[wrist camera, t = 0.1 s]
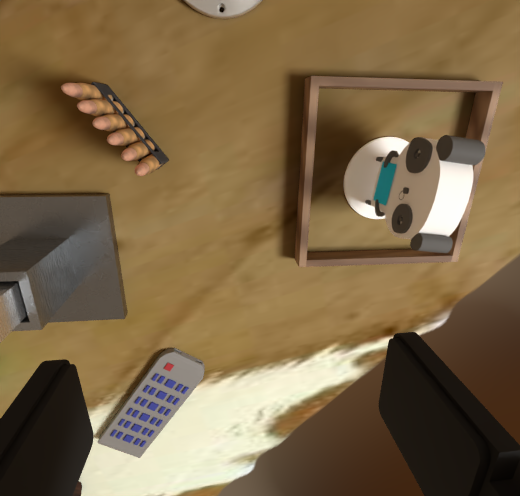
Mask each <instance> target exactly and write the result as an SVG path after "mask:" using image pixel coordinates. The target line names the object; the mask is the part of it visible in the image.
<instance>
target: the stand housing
mask: <svg viewBox="0 0 520 496" xmlns="http://www.w3.org/2000/svg"><path fill="white" fill-rule="evenodd" d="M1 281H18V282H19V285H20V289H21V292H22V296H23V300H24V303H25V307H26V310H27V314H28V315H27V316H26V317H25V318H24V319H23V320H22V321H21V322H20V323H19V324H18V325H17V326H16V327H15V328H14V329H13V330H12V331H24V330H42V329H43V328H44V326H45V325H46V324H47V323H48V322H67V321H88V320H108V319H125V317H126V315H127V307H126V300H125V294H124V287H123V281H122V274H121V267H120V261H119V254H118V248H117V241H116V234H115V228H114V221H113V215H112V208H111V201H110V195H109V194H13V195H0V282H1Z"/></svg>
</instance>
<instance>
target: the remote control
mask: <svg viewBox="0 0 520 496" xmlns="http://www.w3.org/2000/svg"><path fill="white" fill-rule="evenodd" d="M203 375H204V364H203V361H201V360H199V359H197V358H195V357H193V356H191V355H189V354H186V353H184V352H182V351H180V350H178V349H176V348H170V349H167V350H165V351H163V352H161V353H160V355H159V356H158V358H157V359H156V360H155V362H154V363H153V364H152V366H151V367H150V369H149V370H148V371H147V373H146V374H145V375H144V377H143V378H142V379H141V381H140V382H139V384H138V385H137V386H136V388H135V389H134V390H133V392H132V393H131V395H130V396H129V397H128V399H127V400H126V401H125V403H124V404H123V405H122V407H121V408H120V410H119V411H118V412H117V414H116V415H115V416H114V418H113V419H112V421H111V422H110V423H109V425H108V426H107V427H106V429H105V430H104V432H103V433H102V434H101V436H100V438H99V440H98V443H99V444H102V445H105V446H107V447H110V448H113V449H116V450H119V451H121V452H124V453H127V454H130V455H133V456H136V457H138V458H140V457H141V456H142V454H143V453H144V452H145V451H146V449H147V448H148V447H149V446H150V444H151V443H152V442H153V441H154V439H155V438H156V437H157V436H158V434H159V433H160V432H161V430H162V429H163V428H164V427H165V425H166V424H167V423H168V422H169V420H170V419H171V418H172V417H173V415H174V414H175V413H176V412H177V410H178V409H179V408H180V407H181V405H182V404H183V403H184V401H185V400H186V399H187V398H188V397H189V395H190V394H191V393H192V391H193V390H194V389H195V388H196V386H197V385H198V384H199V383H200V381H201V380H202V379H203Z"/></svg>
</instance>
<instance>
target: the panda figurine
mask: <svg viewBox="0 0 520 496" xmlns="http://www.w3.org/2000/svg"><path fill="white" fill-rule="evenodd" d="M484 156H485V145H484V143H483V142H481V141H480V140H474V139H468V138H462V137H455V136H449V135H444V136H443V137H441V138H440V139H439V140H435V139H429V138H422V137H417V138H414V139H413V140H412V141H411V142H410V143H408V142H407V141H405V140H403V139H400V138H396V137H382V138H378V139H375V140H372V141H370V142H368V143H367V144H365V145H364V146H362V147H361V148H360V149H359V150H358V151H357V152H356V153H355V154H354V155H353V157H352V158H351V160H350V162H349V163H348V166H347V168H346V171H345V175H344V182H343V187H344V193H345V197H346V199H347V201H348V203H349V205H350V206H351V207H352V208H353V209H354V210H355V211H356V212H357V213H359V214H360V215H362V216H364V217H367V218H371V219H384V218H385V219H386V223H387V226H388V228H389V230H390V232H391V233H392V234H393V235H394V236H396V237H399V238H405V239H412V240H411V244H410V246H411V248H412V249H413V250H415V251H426V252H436V253H448V252H449V251H450V250H451V248H452V244H453V241H452V238H451V237H449V236H450V235H451V234H452V233H453V231H454V230H455V229H456V227H457V226H458V224H459V222H460V220H461V218H462V216H463V214H464V211H465V209H466V206H467V204H468V201H469V197H470V193H471V189H472V184H473V166H472V165H477V164H478V163H480V162H481V161H482V159H483V158H484Z"/></svg>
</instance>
